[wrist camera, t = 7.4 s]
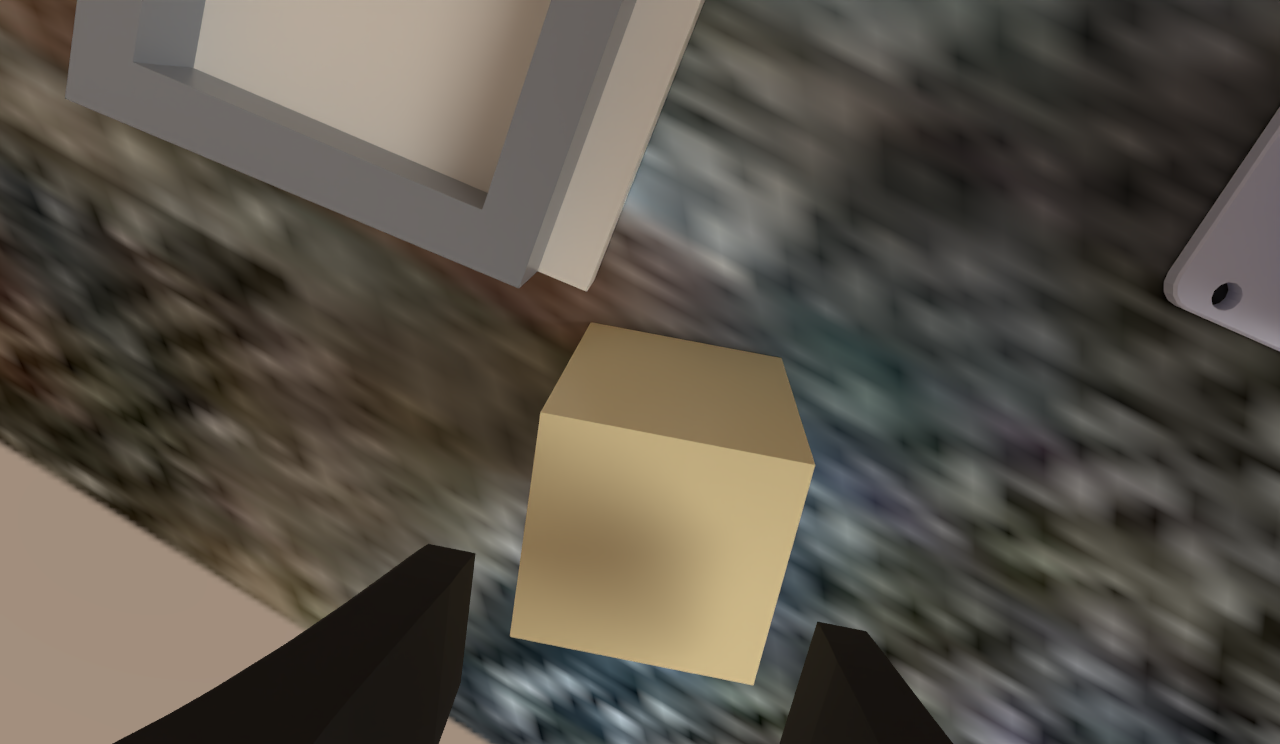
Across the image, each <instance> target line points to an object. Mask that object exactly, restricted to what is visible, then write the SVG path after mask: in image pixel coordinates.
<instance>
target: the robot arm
mask: <svg viewBox="0 0 1280 744" xmlns="http://www.w3.org/2000/svg"><path fill="white" fill-rule="evenodd" d="M1225 283H1227V285H1228V292H1227V295H1226V297H1225V298H1224V299H1223V300H1222V301H1221V302H1220V303H1218V304H1215V305H1213V304H1212V299H1211V298H1212V295H1213V293H1214V291H1215V290H1216V289H1217V288H1218V287H1219V286H1220V285H1222V284H1225ZM1164 294H1165V296H1166V298H1167V300H1168V301H1170V302H1171V303H1172V304H1174V305H1175V306H1177V307H1179V308H1182V309H1184V310H1186V311H1188V312H1191V313H1193V314H1195V315H1198V316H1200V317H1202V318H1204V319H1207V320H1209V321H1211V322H1213V323H1216V324H1218V325H1220V326H1223V327H1225V328H1227V329H1229V330H1232V331H1234V332H1236V333H1239V334H1241V335H1243V336H1245V337H1248V338H1250V339H1252V340H1254V341H1257V342H1259V343H1261V344H1264V345H1266V346H1268V347H1270V348H1273V349H1275V350H1277V351H1279V352H1280V107H1279V109H1278V110H1277V112H1276V113H1275V115H1274V116H1273V118H1272V119H1271V121H1270V122H1269V123H1268V125H1267V126H1266V128H1265V129H1264V131H1263V132H1262V134H1261V135H1260V137H1259V138H1258V140H1257V141H1256V143H1255V144H1254V146H1253V147H1252V149H1251V150H1250V152H1249V153H1248V155H1247V156H1246V157H1245V159H1244V160H1243V162H1242V163H1241V165H1240V166H1239V168H1238V169H1237V171H1236V172H1235V174H1234V175H1233V177H1232V178H1231V180H1230V181H1229V183H1228V184H1227V186H1226V187H1225V189H1224V190H1223V191H1222V193H1221V194H1220V196H1219V197H1218V199H1217V200H1216V202H1215V203H1214V205H1213V206H1212V208H1211V209H1210V211H1209V212H1208V214H1207V215H1206V217H1205V218H1204V220H1203V221H1202V223H1201V224H1200V226H1199V227H1198V228H1197V230H1196V231H1195V233H1194V234H1193V236H1192V237H1191V239H1190V240H1189V242H1188V243H1187V245H1186V246H1185V248H1184V249H1183V251H1182V252H1181V254H1180V255H1179V257H1178V258H1177V260H1176V261H1175V262H1174V264H1173V265H1172V267H1171V268H1170V270H1169V271H1168V273H1167V276H1166V278H1165V280H1164ZM474 561H475V553H471V552H466V551H461V550H456V549H451V548H446V547H441V546H436V545H431V544H428V545H426V546H424V547H423V548H421V549H420V550H418V551H417V552H415V553H414V554H412V555H411V556H410V557H408V558H407V559H405V560H404V561H403V562H401V563H400V564H399V565H397V566H396V567H395V568H393V569H392V570H390V571H389V572H388V573H386V574H385V575H384V576H382V577H381V578H380V579H378V580H377V581H375V582H374V583H373V584H371V585H370V586H369V587H367V588H366V589H364V590H363V591H362V592H360V593H359V594H357V595H356V596H355V597H353V598H352V599H350V600H349V601H348V602H346V603H345V604H343V605H342V606H340V607H339V608H338V609H336V610H335V611H333V612H332V613H330V614H329V615H327V616H326V617H324V618H323V619H321V620H320V621H319V622H317V623H316V624H314V625H313V626H311V627H310V628H308V629H307V630H305V631H304V632H302V633H301V634H300V635H298V636H297V637H295V638H294V639H292V640H291V641H289V642H288V643H286V644H284V645H283V646H281V647H280V648H278V649H277V650H275V651H273V652H272V653H270V654H269V655H267V656H265V657H264V658H262V659H261V660H259V661H257V662H256V663H254V664H252V665H251V666H249V667H248V668H246V669H244V670H243V671H241V672H240V673H238V674H236V675H235V676H233V677H232V678H230V679H228V680H227V681H225V682H223V683H222V684H220V685H219V686H217V687H215V688H214V689H212V690H210V691H209V692H207V693H205V694H203V695H202V696H200V697H199V698H196V699H195V700H193V701H191V702H189V703H188V704H186V705H184V706H182V707H181V708H179V709H177V710H175V711H174V712H172V713H170V714H168V715H166V716H164V717H163V718H161V719H159V720H157V721H155V722H153V723H151V724H149V725H147V726H145V727H144V728H142V729H140V730H138V731H136V732H134V733H132V734H130V735H128V736H126V737H124V738H123V739H121V740H119V741H117V742H115V743H113V744H439V741H440V738H441V736H442V733H443V730H444V727H445V725H446V722H447V719H448V716H449V714H450V711H451V708H452V705H453V702H454V699H455V697H456V694H457V691H458V688H459V685H460V683H461V675H462V666H463V657H464V648H465V640H466V631H467V622H468V614H469V605H470V596H471V587H472V579H473V570H474ZM780 744H953V743H952V742H951V740H950V739H949V738H948V737H947V735H946V734H945V733H944V731H943V730H942V729H941V728H940V726H939V725H938V724H937V722H936V721H935V720H934V719H933V717H932V716H931V715H930V713H929V712H928V711H927V709H926V708H925V707H924V706H923V704H922V703H921V702H920V700H919V699H918V698H917V696H916V695H915V694H914V693H913V691H912V690H911V689H910V687H909V686H908V685H907V683H906V682H905V681H904V679H903V678H902V677H901V675H900V674H899V673H898V671H897V670H896V669H895V668H894V666H893V665H892V664H891V662H890V661H889V660H888V658H887V657H886V656H885V654H884V653H883V652H882V651H881V649H880V648H879V647H878V645H877V644H876V643H875V642H874V640H873V639H872V638H871V637H870V635H869V634H868V633H867V632H866V631H862V630H857V629H852V628H847V627H842V626H837V625H832V624H827V623H822V622H817V625H816V628H815V631H814V635H813V638H812V641H811V644H810V647H809V651H808V654H807V657H806V660H805V663H804V667H803V670H802V673H801V676H800V680H799V683H798V686H797V689H796V692H795V696H794V699H793V702H792V705H791V709H790V712H789V715H788V718H787V721H786V725H785V728H784V731H783V734H782V738H781V741H780Z"/></svg>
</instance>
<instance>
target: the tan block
mask: <svg viewBox="0 0 1280 744" xmlns="http://www.w3.org/2000/svg"><path fill="white" fill-rule="evenodd" d="M814 467H815V463H814V460H813V457H812V454H811V450H810V447H809V444H808V441H807V438H806V435H805V431H804V428H803V425H802V422H801V419H800V416H799V412H798V409H797V406H796V403H795V400H794V396H793V393H792V390H791V387H790V384H789V381H788V377H787V374H786V371H785V368H784V365H783V362H782V358H778V357H773V356H768V355H762V354H757V353H752V352H746V351H741V350H736V349H730V348H725V347H720V346H715V345H709V344H704V343H699V342H693V341H688V340H683V339H677V338H672V337H667V336H662V335H656V334H651V333H646V332H640V331H635V330H630V329H624V328H619V327H614V326H609V325H603V324H598V323H593V322H591V323H590V325H589V326H588V328H587V330H586V332H585V334H584V335H583V337H582V339H581V341H580V342H579V344H578V346H577V348H576V350H575V351H574V353H573V355H572V357H571V359H570V360H569V362H568V364H567V366H566V368H565V369H564V371H563V373H562V375H561V377H560V378H559V380H558V382H557V384H556V385H555V387H554V389H553V391H552V393H551V394H550V396H549V398H548V400H547V402H546V403H545V405H544V407H543V409H542V411H541V413H540V420H539V427H538V435H537V442H536V449H535V457H534V464H533V471H532V478H531V486H530V493H529V500H528V508H527V515H526V522H525V530H524V537H523V544H522V552H521V559H520V566H519V574H518V581H517V588H516V596H515V603H514V610H513V618H512V625H511V632H510V637H514V638H519V639H524V640H529V641H534V642H539V643H544V644H549V645H554V646H559V647H564V648H569V649H574V650H579V651H584V652H589V653H594V654H599V655H604V656H609V657H614V658H619V659H624V660H629V661H634V662H639V663H644V664H649V665H654V666H659V667H664V668H669V669H674V670H679V671H684V672H689V673H694V674H699V675H704V676H709V677H714V678H719V679H724V680H729V681H734V682H740V683H745V684H750V685H753V684H754V681H755V677H756V674H757V670H758V667H759V663H760V660H761V656H762V652H763V649H764V645H765V642H766V638H767V635H768V631H769V628H770V624H771V620H772V617H773V613H774V610H775V606H776V603H777V599H778V595H779V592H780V588H781V585H782V581H783V578H784V574H785V571H786V567H787V563H788V560H789V556H790V553H791V549H792V546H793V542H794V539H795V535H796V531H797V528H798V524H799V521H800V517H801V514H802V510H803V506H804V503H805V499H806V496H807V492H808V489H809V485H810V482H811V478H812V474H813V471H814Z"/></svg>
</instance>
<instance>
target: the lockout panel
mask: <svg viewBox="0 0 1280 744" xmlns="http://www.w3.org/2000/svg"><path fill="white" fill-rule="evenodd" d="M704 1H705V0H77V5H76V13H75V22H74V30H73V38H72V46H71V54H70V62H69V70H68V79H67V87H66V95H65V99H67V100H70V101H72V102H74V103H77V104H79V105H82V106H84V107H86V108H89V109H91V110H93V111H96V112H98V113H101V114H103V115H105V116H108V117H110V118H113V119H115V120H117V121H120V122H122V123H125V124H127V125H129V126H132V127H134V128H136V129H139V130H141V131H144V132H146V133H148V134H151V135H153V136H156V137H158V138H160V139H163V140H165V141H168V142H170V143H172V144H175V145H177V146H180V147H182V148H184V149H187V150H189V151H191V152H194V153H196V154H199V155H201V156H203V157H206V158H208V159H211V160H213V161H215V162H218V163H220V164H223V165H225V166H227V167H230V168H232V169H234V170H237V171H239V172H242V173H244V174H246V175H249V176H251V177H254V178H256V179H258V180H261V181H263V182H266V183H268V184H270V185H273V186H275V187H277V188H280V189H282V190H285V191H287V192H289V193H292V194H294V195H297V196H299V197H301V198H304V199H306V200H309V201H311V202H313V203H316V204H318V205H321V206H323V207H325V208H328V209H330V210H332V211H335V212H337V213H340V214H342V215H344V216H347V217H349V218H352V219H354V220H356V221H359V222H361V223H364V224H366V225H368V226H371V227H373V228H375V229H378V230H380V231H383V232H385V233H387V234H390V235H392V236H395V237H397V238H399V239H402V240H404V241H407V242H409V243H411V244H414V245H416V246H418V247H421V248H423V249H426V250H428V251H430V252H433V253H435V254H438V255H440V256H442V257H445V258H447V259H450V260H452V261H454V262H457V263H459V264H462V265H464V266H466V267H469V268H471V269H473V270H476V271H478V272H481V273H483V274H485V275H488V276H490V277H493V278H495V279H497V280H500V281H502V282H505V283H507V284H509V285H512V286H514V287H516V288H520V287H521V286H522V285H523V284H524V283H525V282H527V281H528V280H529V279H530V278H531V277H532V276H533V275H534V274H535V273H536V272H537V271H538V272H541V273H543V274H546V275H548V276H550V277H553V278H555V279H557V280H560V281H562V282H565V283H567V284H569V285H572V286H574V287H576V288H579V289H581V290H584V291H586V292H587V291H588V289H589V288H590V286H591V285H592V283H593V282H594V280H595V277H596V274H597V272H598V269H599V267H600V264H601V262H602V259H603V257H604V254H605V252H606V249H607V247H608V244H609V242H610V239H611V237H612V234H613V231H614V229H615V226H616V224H617V221H618V219H619V216H620V214H621V211H622V209H623V206H624V204H625V201H626V199H627V196H628V194H629V191H630V189H631V186H632V183H633V181H634V178H635V176H636V173H637V171H638V168H639V166H640V163H641V161H642V158H643V156H644V153H645V151H646V148H647V146H648V143H649V140H650V138H651V135H652V133H653V130H654V128H655V125H656V123H657V120H658V118H659V115H660V113H661V110H662V108H663V105H664V103H665V100H666V97H667V95H668V92H669V90H670V87H671V85H672V82H673V80H674V77H675V75H676V72H677V70H678V67H679V65H680V62H681V60H682V57H683V54H684V52H685V49H686V47H687V44H688V42H689V39H690V37H691V34H692V32H693V29H694V27H695V24H696V22H697V19H698V17H699V14H700V11H701V9H702V6H703V4H704Z"/></svg>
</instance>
